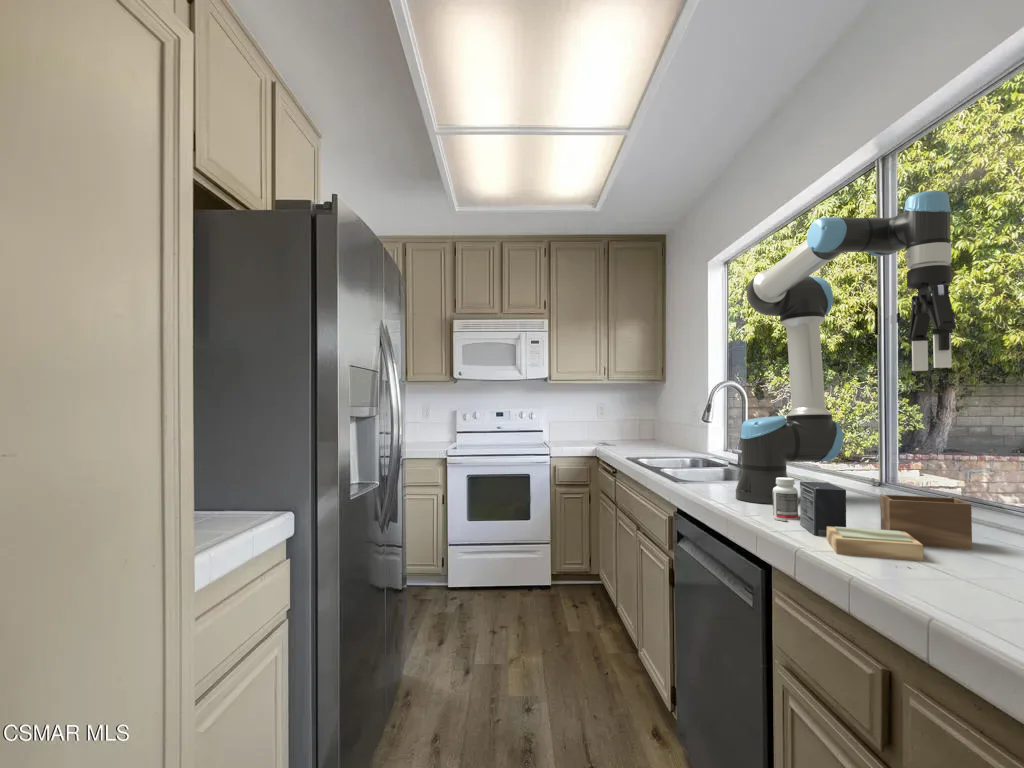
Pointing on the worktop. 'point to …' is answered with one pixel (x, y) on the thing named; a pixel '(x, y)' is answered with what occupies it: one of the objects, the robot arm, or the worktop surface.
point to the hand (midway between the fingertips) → (930, 369)
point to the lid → (874, 543)
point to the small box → (821, 507)
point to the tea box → (929, 519)
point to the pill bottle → (785, 499)
